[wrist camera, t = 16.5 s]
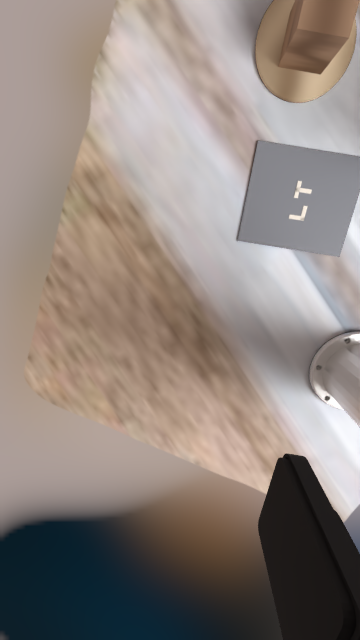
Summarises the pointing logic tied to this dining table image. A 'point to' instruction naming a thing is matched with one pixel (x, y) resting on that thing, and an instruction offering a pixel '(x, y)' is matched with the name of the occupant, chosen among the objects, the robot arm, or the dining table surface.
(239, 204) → the dining table surface
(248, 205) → the gray tile
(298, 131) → the dining table surface
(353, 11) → the walnut block
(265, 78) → the coaster
